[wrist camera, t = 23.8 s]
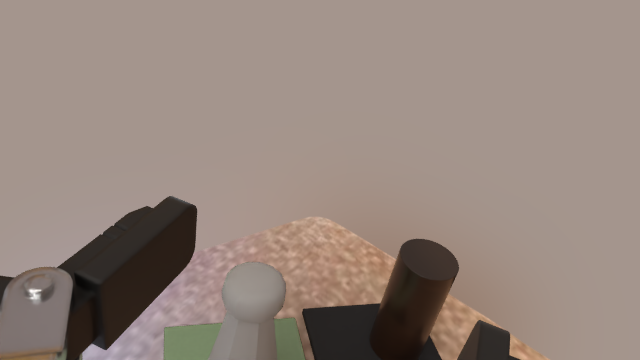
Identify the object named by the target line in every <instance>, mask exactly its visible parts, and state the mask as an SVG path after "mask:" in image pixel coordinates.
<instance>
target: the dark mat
mask: <svg viewBox="0 0 640 360" xmlns="http://www.w3.org/2000/svg"><path fill="white" fill-rule="evenodd" d="M380 305H381V303H380V304H366V305H352V306H337V307H323V308H308V309H303V312H302V314H303V317H304V321H305V325H306V329H307V332H308V336H309V340H310V343H311V347H312V351H313V355H314V358H315V360H382V359H381V358H380V357H378V356H377V355H376V353H375V352H374V351H373V349H372V347H371V344H370V338H369V337H370V333H371V330H372V327H373V324H374V321H375V319H376V316H377V313H378V310H379V307H380ZM418 360H442V359H441V357H440V355H439V353H438V351H437V349H436V347H435V345H434V343H433V341H432V339H431V337H430V335H429V337H428V339H427V341H426V343H425V345H424V348H423V350H422V352H421V354H420V356H419V358H418Z"/></svg>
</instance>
